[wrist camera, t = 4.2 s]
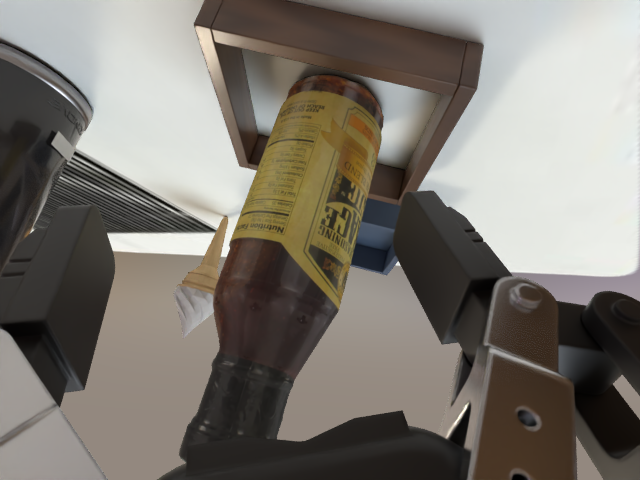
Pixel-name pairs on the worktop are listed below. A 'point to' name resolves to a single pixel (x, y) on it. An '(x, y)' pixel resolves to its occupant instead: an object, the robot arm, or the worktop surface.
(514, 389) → the robot arm
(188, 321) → the ice cream cone
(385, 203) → the slate tray
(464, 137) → the worktop surface
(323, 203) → the sauce bottle
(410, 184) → the walnut frame
